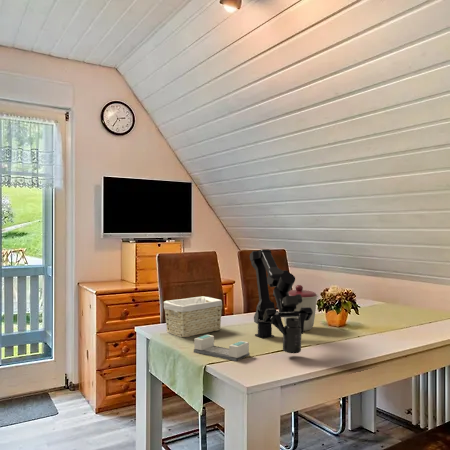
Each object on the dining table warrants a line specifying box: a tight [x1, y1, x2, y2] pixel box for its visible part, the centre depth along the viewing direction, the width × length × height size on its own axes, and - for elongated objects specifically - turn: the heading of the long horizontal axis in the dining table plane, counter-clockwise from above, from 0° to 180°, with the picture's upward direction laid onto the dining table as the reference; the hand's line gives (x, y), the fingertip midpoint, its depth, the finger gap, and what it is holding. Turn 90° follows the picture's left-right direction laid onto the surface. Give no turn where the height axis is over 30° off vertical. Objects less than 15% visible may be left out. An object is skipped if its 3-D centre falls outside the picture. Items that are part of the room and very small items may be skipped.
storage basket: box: [163, 295, 223, 338], centre depth 201 cm, size 24×16×15 cm
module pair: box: [193, 334, 250, 358], centre depth 166 cm, size 20×8×4 cm, turn 55°
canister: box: [283, 284, 319, 332], centre depth 208 cm, size 18×18×21 cm
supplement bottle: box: [282, 318, 303, 354], centre depth 161 cm, size 7×7×12 cm
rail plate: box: [193, 345, 251, 362], centre depth 166 cm, size 20×9×1 cm, turn 55°
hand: (293, 334), depth 160 cm, fingers closed on supplement bottle, 7 cm apart
